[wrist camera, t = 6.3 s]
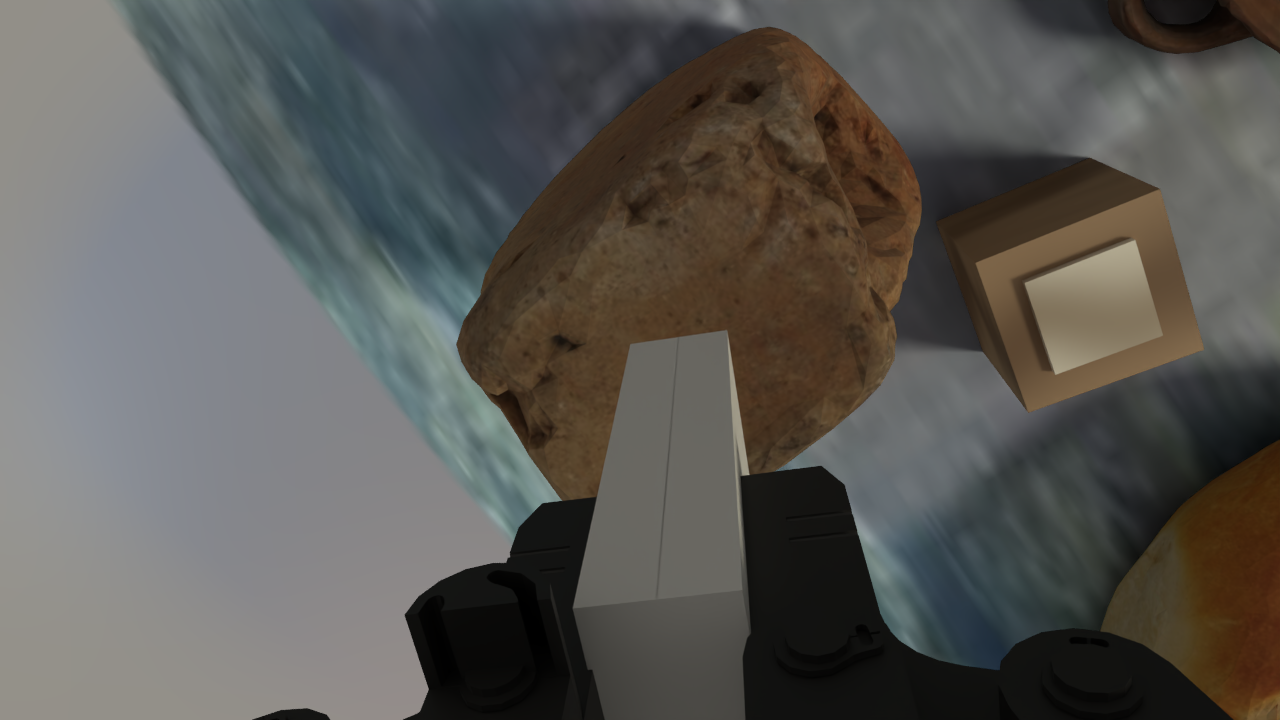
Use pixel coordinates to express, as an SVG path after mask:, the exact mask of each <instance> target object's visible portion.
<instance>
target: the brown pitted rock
mask: <svg viewBox="0 0 1280 720" xmlns="http://www.w3.org/2000/svg"><path fill="white" fill-rule="evenodd" d="M921 212H922V206H921V194H920V188H919V184H918V181H917V178H916V175H915V173H914V170H913V167H912V166H911V163H910V161H909V159H908V157H907V156H906V154H905V152H904V150H903V149H902V147H901V145H900V144H899V142H898V141H897V140H896V139H895V137H894V136H893V135H892V134H891V132H890V131H889V130H888V129H887V128H886V126H885V125H884V124H883V123H882V122H881V120H880V119H879V118H878V117H877V116H876V115H875V113H874V112H873V111H872V110H871V109H870V108H869V107H868V105H867V104H866V103H865V102H864V101H863V100H862V99H861V98H860V97H859V95H858V94H857V93H856V92H855V91H854V90H853V89H852V88H851V87H850V85H849V84H848V83H847V82H846V81H845V80H844V79H843V77H841V76H840V75H839V74H838V73H837V72H836V71H835V70H834V69H833V68H832V67H831V66H829V64H828V63H827V62H826V61H825V60H824V59H823V58H822V57H821V56H819V55H818V54H816V53H815V52H814V51H813V50H812V49H811V48H810V47H809V46H808V45H807V44H806V43H804V42H803V41H801V40H800V39H799V38H797V37H796V36H794V35H792V34H790V33H788V32H786V31H783V30H781V29H777V28H773V27H765V28H758V29H754V30H751V31H749V32H746V33H743V34H741V35H739V36H737V37H734V38H732V39H730V40H728V41H727V42H725V43H723V44H721V45H719V46H717V47H715V48H714V49H712V50H710V51H709V52H707V53H705V54H704V55H702V56H700V57H698V58H696V59H694V60H692V61H690V62H688V63H687V64H685V65H684V66H682V67H680V68H679V69H677V70H676V71H674V72H672V73H671V74H670V75H668V76H667V77H666V78H664V79H663V80H662V81H660V82H659V83H657V84H656V85H654V86H653V87H652V88H650V89H649V90H648V91H647V92H646V93H644V94H643V95H642V96H641V97H639V98H638V99H637V100H636V101H634V102H633V103H632V104H631V105H630V106H629V107H627V108H626V109H625V110H624V111H623V112H622V113H621V114H619V115H618V116H617V117H616V118H615V119H614V120H613V121H612V122H611V123H609V124H608V125H607V126H606V127H605V128H603V129H602V130H601V131H600V132H599V133H598V134H597V135H596V136H595V137H594V138H593V139H592V140H591V141H590V142H589V143H588V144H587V145H586V146H585V147H584V148H583V149H582V150H581V151H580V152H579V153H578V154H577V155H576V156H575V157H574V158H573V159H572V160H571V161H570V162H569V163H568V164H567V165H566V166H565V167H564V168H563V169H562V170H561V171H560V172H559V174H558V175H557V176H556V177H555V178H554V179H553V180H552V181H551V182H550V183H549V185H548V186H547V187H546V188H545V189H544V191H543V192H542V193H541V194H540V195H539V197H538V198H537V199H536V200H535V201H534V203H533V204H532V205H531V207H530V208H529V209H528V210H527V211H526V212H525V214H524V215H523V216H522V218H521V219H520V221H519V222H518V224H517V225H516V226H515V227H514V229H513V230H512V231H511V232H510V233H509V236H508V238H507V240H506V241H505V242H504V244H503V245H502V246H501V248H500V249H499V250H498V251H497V253H496V255H495V257H494V259H493V261H492V263H491V265H490V267H489V269H488V270H487V272H486V274H485V277H484V281H483V285H482V289H481V295H480V297H479V298H478V300H477V301H476V303H475V304H474V306H473V308H472V309H471V311H470V312H469V314H468V315H467V317H466V318H465V320H464V321H463V325H462V328H461V331H460V334H459V338H458V341H457V344H456V345H457V348H458V352H459V355H460V358H461V362H462V363H463V365H464V367H465V368H466V370H467V372H468V373H469V375H470V377H471V378H472V379H473V380H474V381H475V382H476V383H477V384H478V385H479V386H480V387H481V388H482V389H483V391H484V392H485V394H486V395H487V396H488V398H489V399H490V400H491V401H492V402H493V403H494V404H495V405H497V406H498V407H499V408H500V409H501V411H502V412H503V414H504V415H505V417H506V418H507V420H508V422H509V423H510V425H511V426H512V428H513V429H514V431H515V433H516V434H517V436H518V437H519V439H520V441H521V442H522V444H523V446H524V448H525V449H526V451H527V453H528V455H529V456H530V458H531V459H532V460H533V462H534V463H535V464H536V466H537V467H538V468H539V470H540V471H541V473H542V474H543V475H544V477H545V478H546V479H547V481H548V482H549V483H550V485H551V486H552V487H553V489H554V490H555V492H556V493H557V494H558V496H559V497H560V498H561V500H562V501H566V500H574V499H582V498H590V497H597V495H598V490H599V486H600V481H601V477H602V472H603V467H604V463H605V458H606V454H607V449H608V445H609V440H610V435H611V431H612V426H613V422H614V417H615V413H616V408H617V403H618V399H619V394H620V390H621V385H622V381H623V376H624V371H625V367H626V362H627V358H628V353H629V349H630V344H635V343H642V342H648V341H655V340H662V339H669V338H676V337H683V336H690V335H697V334H704V333H711V332H718V331H724V330H727V333H728V339H729V346H730V352H731V359H732V365H733V372H734V378H735V385H736V391H737V398H738V404H739V410H740V417H741V423H742V430H743V436H744V443H745V449H746V456H747V462H748V469H749V475H752V474H760V473H768V472H774V471H776V470H777V469H779V468H781V467H782V466H784V465H785V464H787V463H788V462H789V461H791V460H792V459H793V458H795V457H796V456H797V455H799V454H800V453H801V452H803V451H804V450H805V449H807V448H808V447H809V446H811V445H812V444H813V443H815V442H816V441H817V440H819V439H820V438H821V437H823V436H824V435H825V434H827V433H828V432H829V431H831V430H832V429H833V428H834V427H836V426H837V425H838V424H839V423H840V422H842V421H843V420H844V419H845V418H846V417H847V416H849V415H850V414H851V413H852V412H853V411H854V410H856V409H857V408H858V407H859V406H860V405H861V404H863V402H864V401H865V400H866V399H867V398H868V397H869V396H870V395H871V394H872V393H873V392H874V391H875V390H876V389H877V388H878V387H879V386H880V385H881V383H882V381H883V380H884V378H885V376H886V374H887V372H888V370H889V369H890V367H891V365H892V363H893V361H894V357H895V343H896V339H897V333H896V328H895V322H894V319H893V317H892V315H891V313H890V311H891V309H892V308H893V307H894V306H895V305H896V304H897V302H898V301H899V298H900V294H901V291H902V283H903V282H904V281H905V280H906V277H907V271H908V264H909V260H910V258H911V256H912V251H913V242H914V237H915V234H916V232H917V230H918V227H919V225H920V219H921Z"/></svg>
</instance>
